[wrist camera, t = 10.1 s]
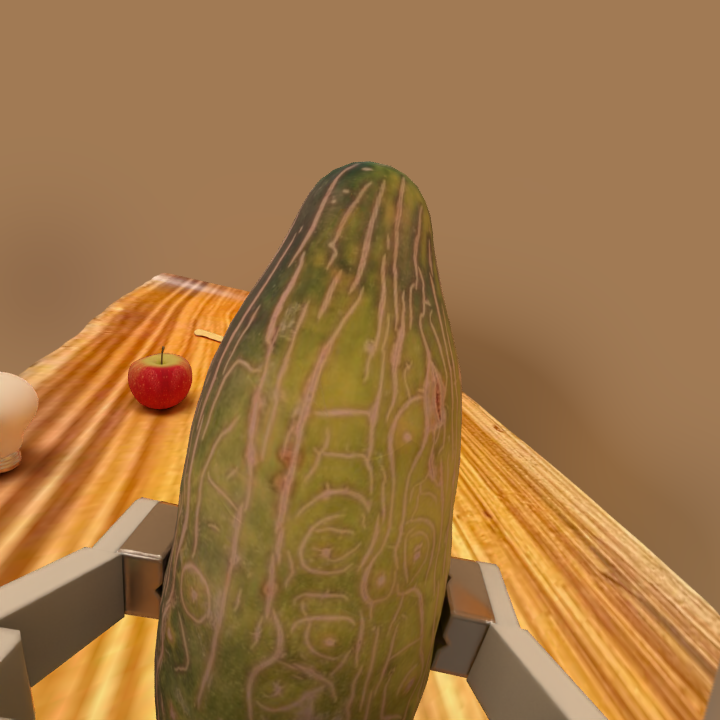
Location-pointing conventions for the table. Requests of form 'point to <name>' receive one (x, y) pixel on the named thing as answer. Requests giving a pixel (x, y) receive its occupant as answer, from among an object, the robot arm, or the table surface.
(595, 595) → the table surface
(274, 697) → the vegetable
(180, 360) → the apple
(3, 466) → the light bulb
